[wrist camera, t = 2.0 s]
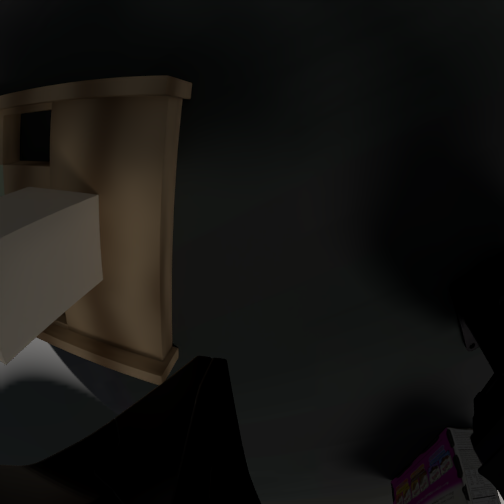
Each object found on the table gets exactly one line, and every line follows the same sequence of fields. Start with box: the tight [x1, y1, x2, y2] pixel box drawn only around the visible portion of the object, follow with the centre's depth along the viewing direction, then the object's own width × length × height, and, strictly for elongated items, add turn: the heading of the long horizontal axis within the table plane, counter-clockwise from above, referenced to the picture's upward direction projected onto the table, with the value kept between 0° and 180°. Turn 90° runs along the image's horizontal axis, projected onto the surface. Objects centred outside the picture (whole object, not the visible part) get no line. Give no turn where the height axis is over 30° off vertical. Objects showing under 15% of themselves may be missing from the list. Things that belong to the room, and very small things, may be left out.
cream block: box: [0, 187, 103, 365], centre depth 15 cm, size 7×6×10 cm
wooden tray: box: [0, 75, 192, 385], centre depth 21 cm, size 24×20×4 cm
